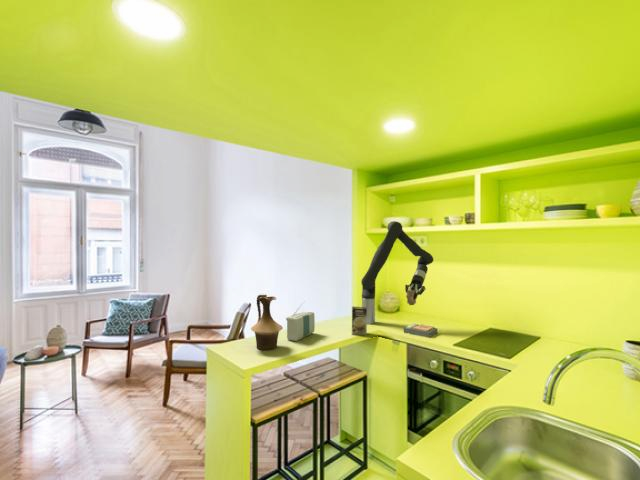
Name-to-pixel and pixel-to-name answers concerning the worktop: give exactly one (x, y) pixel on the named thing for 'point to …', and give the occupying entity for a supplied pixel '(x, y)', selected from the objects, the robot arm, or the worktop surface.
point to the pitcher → (266, 325)
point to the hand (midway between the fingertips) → (410, 298)
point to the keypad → (417, 332)
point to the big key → (423, 328)
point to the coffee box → (359, 321)
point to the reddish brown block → (411, 297)
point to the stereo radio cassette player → (300, 325)
